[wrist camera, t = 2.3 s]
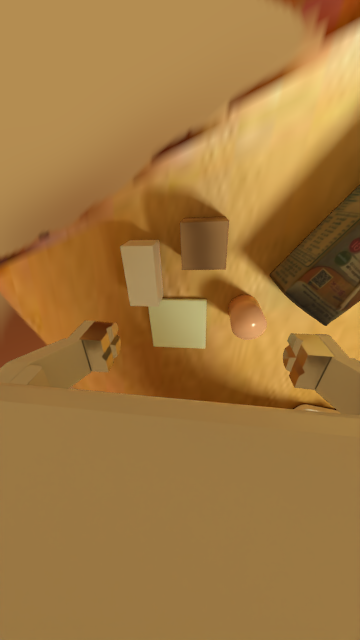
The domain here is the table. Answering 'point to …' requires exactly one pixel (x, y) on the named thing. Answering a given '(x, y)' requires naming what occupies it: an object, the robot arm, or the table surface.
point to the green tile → (179, 323)
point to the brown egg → (246, 317)
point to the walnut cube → (204, 243)
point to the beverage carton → (326, 265)
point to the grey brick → (143, 272)
